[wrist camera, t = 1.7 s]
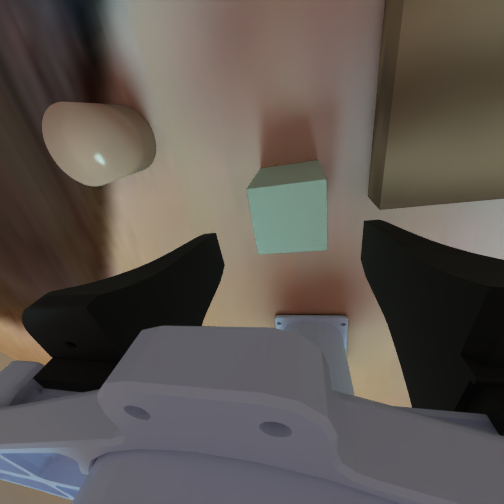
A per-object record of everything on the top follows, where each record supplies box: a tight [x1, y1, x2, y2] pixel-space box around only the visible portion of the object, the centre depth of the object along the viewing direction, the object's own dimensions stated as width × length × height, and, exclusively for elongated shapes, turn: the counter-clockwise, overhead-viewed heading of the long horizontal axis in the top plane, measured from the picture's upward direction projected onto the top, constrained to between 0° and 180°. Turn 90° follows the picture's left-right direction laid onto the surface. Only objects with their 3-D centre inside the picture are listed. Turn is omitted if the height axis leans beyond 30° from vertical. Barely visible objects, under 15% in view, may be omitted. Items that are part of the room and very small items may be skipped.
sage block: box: [247, 160, 327, 254], centre depth 16 cm, size 4×4×6 cm
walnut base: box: [368, 0, 504, 210], centre depth 12 cm, size 12×12×3 cm
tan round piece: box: [42, 102, 156, 186], centre depth 17 cm, size 5×5×5 cm
